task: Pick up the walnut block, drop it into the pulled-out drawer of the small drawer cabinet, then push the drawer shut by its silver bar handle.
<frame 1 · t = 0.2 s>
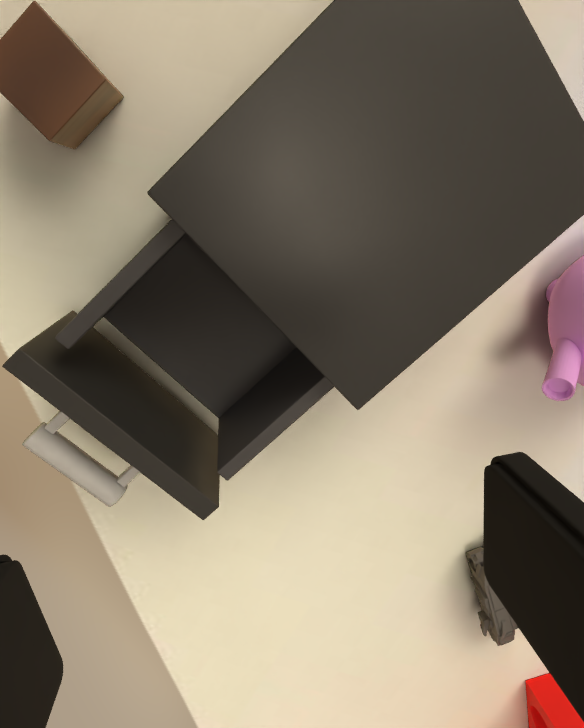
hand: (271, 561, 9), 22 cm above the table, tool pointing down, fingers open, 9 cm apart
tank toy: (512, 573, 41), on the table
block: (69, 92, 25), on the table
small drawer cabinet: (343, 192, 29), on the table
teapot: (580, 310, 34), on the table
pulled-out drawer: (187, 359, 26), point 5 cm above the table, slide at 9.0 cm
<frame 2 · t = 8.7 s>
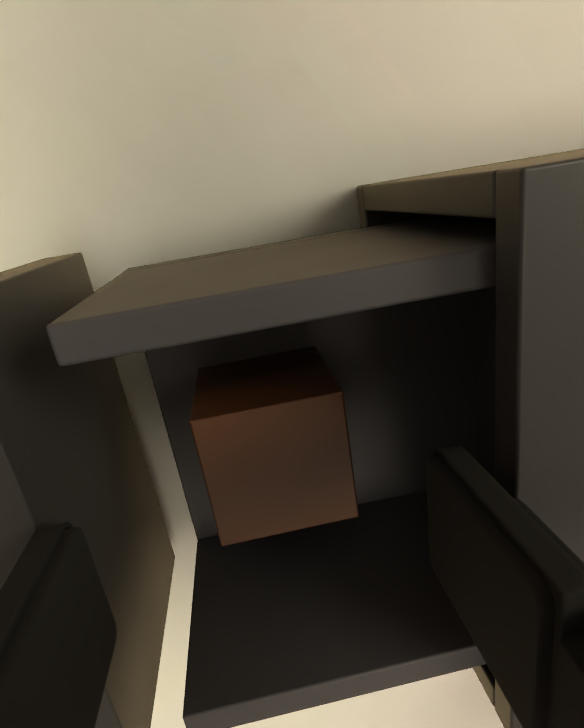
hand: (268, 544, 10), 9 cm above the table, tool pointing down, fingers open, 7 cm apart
block: (267, 409, 16), point 2 cm above the table, touching pulled-out drawer
small drawer cabinet: (557, 331, 19), on the table
pulled-out drawer: (235, 459, 13), point 5 cm above the table, slide at 9.3 cm, touching block, gripper
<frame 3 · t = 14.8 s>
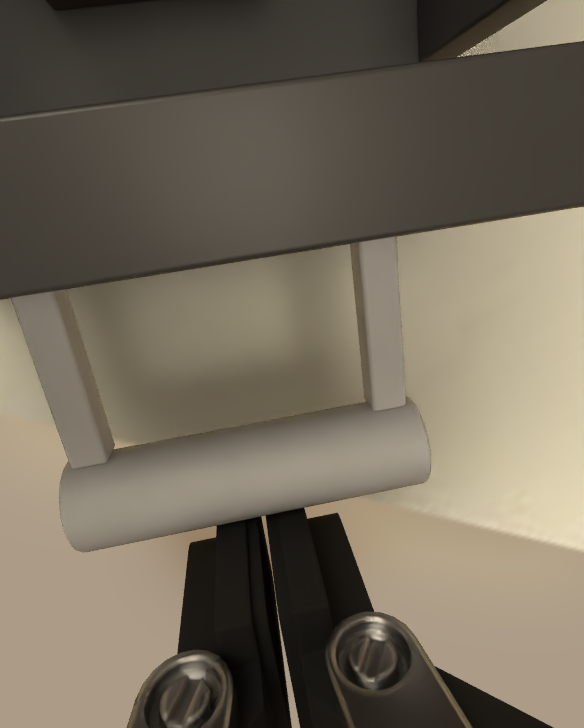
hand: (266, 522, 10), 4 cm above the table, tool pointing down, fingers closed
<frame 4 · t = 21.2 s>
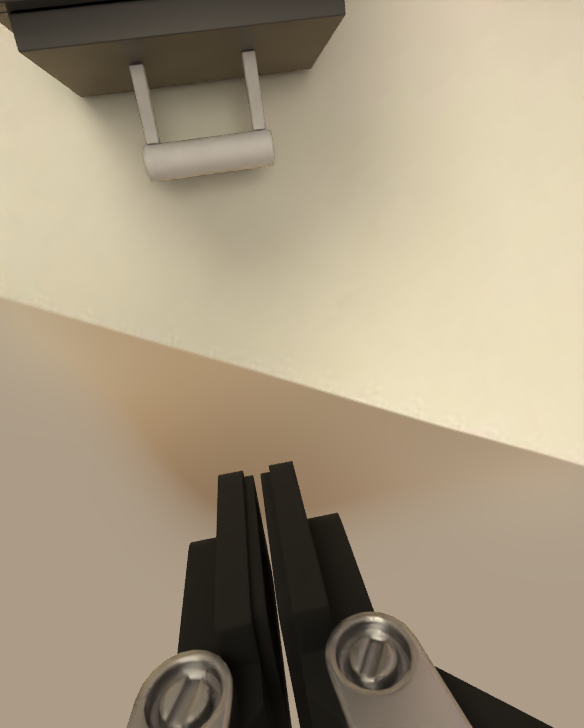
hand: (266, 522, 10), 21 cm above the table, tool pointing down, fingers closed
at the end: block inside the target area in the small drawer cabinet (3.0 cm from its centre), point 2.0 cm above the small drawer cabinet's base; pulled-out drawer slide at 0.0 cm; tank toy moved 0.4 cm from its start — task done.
